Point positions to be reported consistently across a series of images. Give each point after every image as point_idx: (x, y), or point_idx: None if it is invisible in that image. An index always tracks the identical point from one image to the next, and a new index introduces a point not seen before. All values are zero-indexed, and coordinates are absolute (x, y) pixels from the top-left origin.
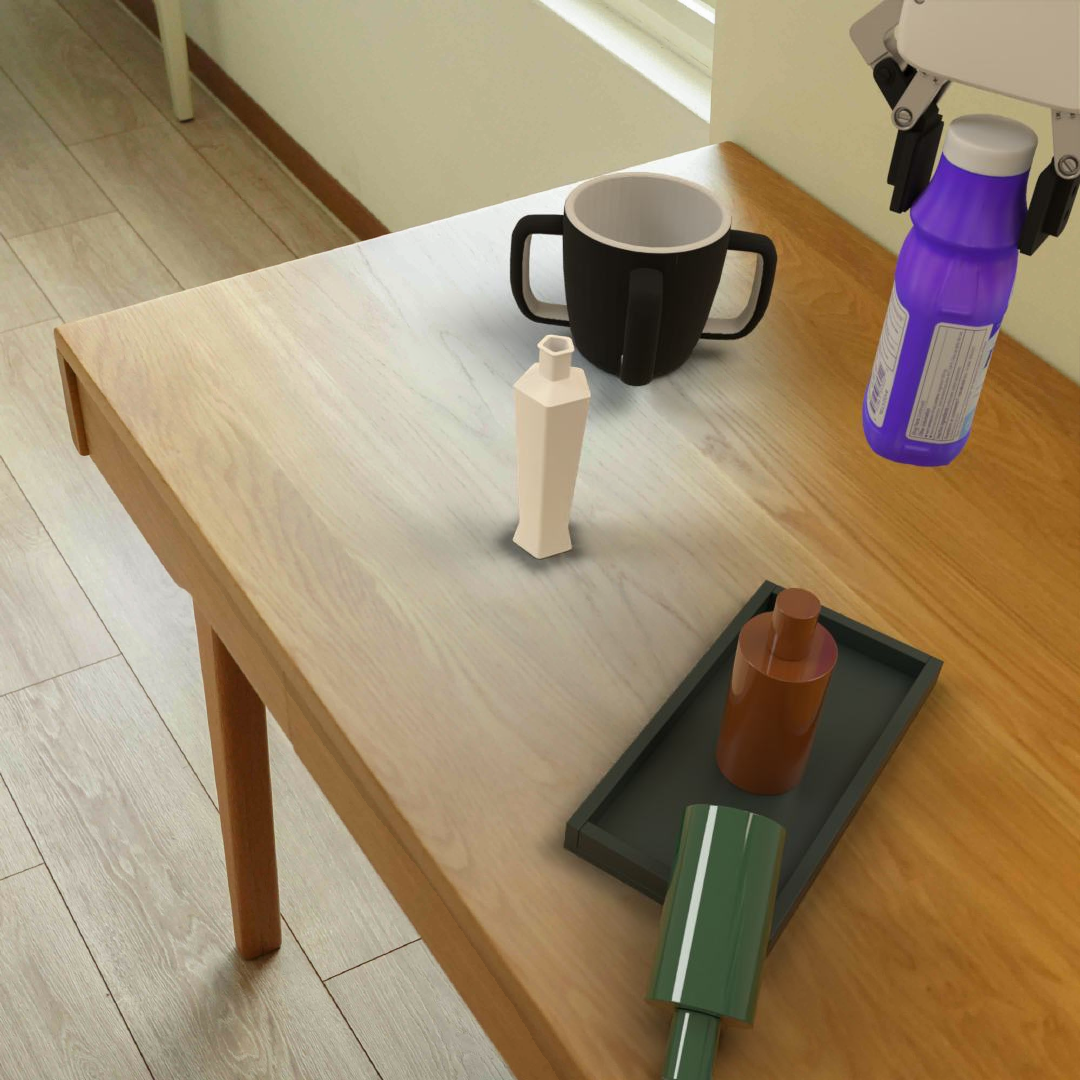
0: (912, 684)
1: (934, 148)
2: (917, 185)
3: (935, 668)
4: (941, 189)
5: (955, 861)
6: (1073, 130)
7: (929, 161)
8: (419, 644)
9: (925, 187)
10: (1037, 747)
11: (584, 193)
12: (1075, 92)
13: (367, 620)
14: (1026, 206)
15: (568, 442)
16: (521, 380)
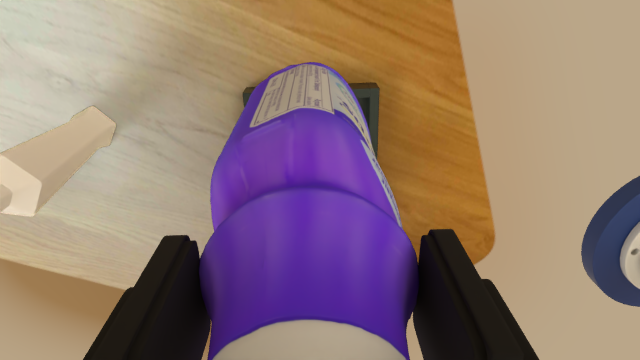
0: (364, 99)
1: (166, 329)
2: (195, 324)
3: (376, 98)
4: None
5: (426, 190)
6: None
7: (177, 318)
8: (121, 239)
9: (193, 261)
10: (447, 90)
11: None
12: None
13: (86, 242)
14: (406, 291)
15: (61, 175)
16: None
